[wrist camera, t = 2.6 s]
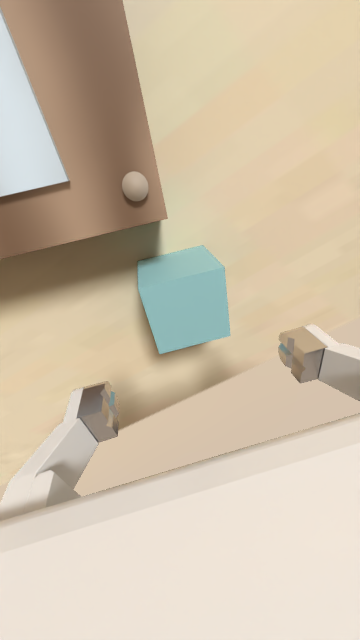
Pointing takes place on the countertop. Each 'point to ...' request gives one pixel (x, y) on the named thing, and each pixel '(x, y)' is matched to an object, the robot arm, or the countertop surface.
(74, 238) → the plinth
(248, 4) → the countertop surface
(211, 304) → the teal block
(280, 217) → the countertop surface
